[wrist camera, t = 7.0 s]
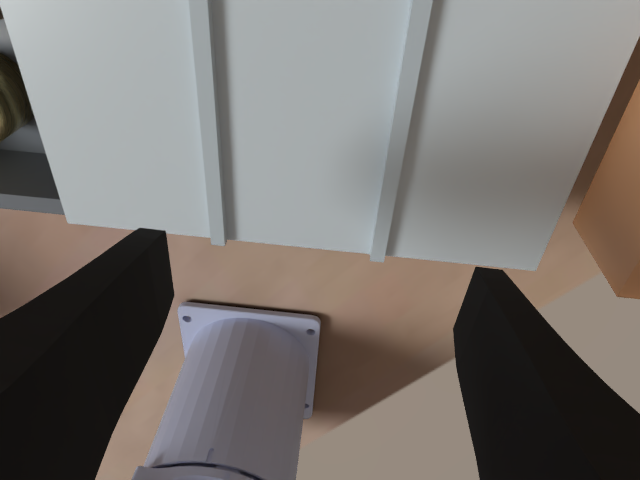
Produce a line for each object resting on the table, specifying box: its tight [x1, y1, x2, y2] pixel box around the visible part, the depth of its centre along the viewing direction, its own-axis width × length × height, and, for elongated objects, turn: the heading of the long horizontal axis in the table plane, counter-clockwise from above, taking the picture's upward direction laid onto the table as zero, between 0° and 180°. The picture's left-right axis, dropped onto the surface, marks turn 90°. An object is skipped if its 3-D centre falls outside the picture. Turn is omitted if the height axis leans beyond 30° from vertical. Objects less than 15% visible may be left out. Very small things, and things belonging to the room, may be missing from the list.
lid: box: [0, 0, 640, 299], centre depth 13 cm, size 11×19×4 cm, turn 86°
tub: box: [0, 19, 65, 215], centre depth 17 cm, size 12×18×4 cm, turn 86°
